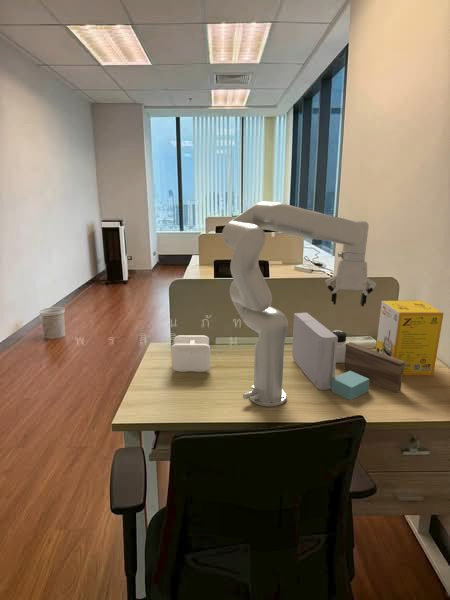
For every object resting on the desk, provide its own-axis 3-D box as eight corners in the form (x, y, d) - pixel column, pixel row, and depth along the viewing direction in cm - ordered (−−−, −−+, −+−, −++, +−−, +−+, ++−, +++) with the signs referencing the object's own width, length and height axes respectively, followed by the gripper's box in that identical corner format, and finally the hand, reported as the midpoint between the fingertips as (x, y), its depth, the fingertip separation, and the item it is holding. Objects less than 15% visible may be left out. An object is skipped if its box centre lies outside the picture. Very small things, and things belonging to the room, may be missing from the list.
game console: (318, 390, 136) (322, 338, 131) (291, 358, 162) (293, 313, 156) (333, 389, 137) (338, 336, 132) (304, 357, 163) (307, 312, 157)
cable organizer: (211, 361, 159) (211, 335, 156) (210, 373, 149) (210, 345, 146) (175, 361, 159) (174, 335, 156) (171, 373, 149) (170, 345, 146)
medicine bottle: (347, 362, 158) (350, 335, 154) (329, 362, 158) (332, 335, 155) (342, 355, 165) (345, 329, 161) (325, 355, 165) (328, 329, 161)
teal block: (350, 400, 130) (351, 387, 129) (331, 391, 136) (332, 378, 135) (367, 391, 136) (369, 379, 135) (348, 382, 142) (350, 370, 141)
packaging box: (374, 357, 163) (381, 300, 156) (413, 357, 163) (422, 300, 156) (390, 375, 148) (398, 312, 141) (433, 375, 148) (443, 313, 141)
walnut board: (396, 393, 135) (400, 364, 132) (343, 370, 151) (345, 344, 148) (401, 390, 137) (405, 361, 133) (348, 368, 153) (350, 342, 150)
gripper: (328, 257, 132) (323, 305, 136) (381, 260, 129) (375, 309, 134) (326, 254, 139) (322, 300, 144) (377, 256, 136) (371, 303, 141)
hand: (348, 304), depth 139 cm, fingers open, 9 cm apart
